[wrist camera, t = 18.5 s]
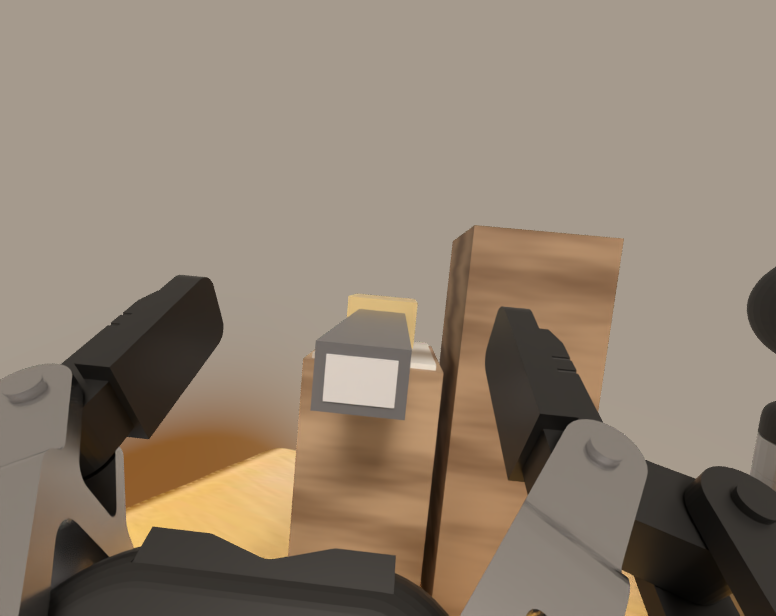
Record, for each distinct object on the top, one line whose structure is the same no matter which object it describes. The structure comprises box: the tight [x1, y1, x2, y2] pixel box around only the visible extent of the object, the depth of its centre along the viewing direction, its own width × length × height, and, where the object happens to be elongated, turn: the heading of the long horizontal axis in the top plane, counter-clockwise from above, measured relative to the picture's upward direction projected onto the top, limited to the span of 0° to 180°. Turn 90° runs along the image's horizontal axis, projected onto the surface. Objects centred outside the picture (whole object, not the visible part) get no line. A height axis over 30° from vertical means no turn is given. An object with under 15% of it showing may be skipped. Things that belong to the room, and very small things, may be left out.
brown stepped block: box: [288, 225, 624, 616], centre depth 30 cm, size 10×21×32 cm, turn 87°
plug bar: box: [310, 294, 418, 420], centre depth 25 cm, size 22×6×4 cm, turn 178°
